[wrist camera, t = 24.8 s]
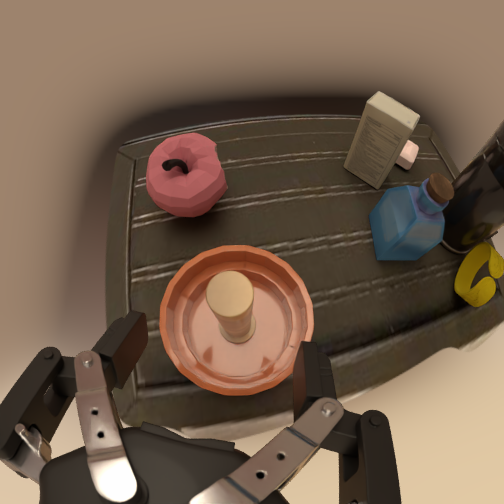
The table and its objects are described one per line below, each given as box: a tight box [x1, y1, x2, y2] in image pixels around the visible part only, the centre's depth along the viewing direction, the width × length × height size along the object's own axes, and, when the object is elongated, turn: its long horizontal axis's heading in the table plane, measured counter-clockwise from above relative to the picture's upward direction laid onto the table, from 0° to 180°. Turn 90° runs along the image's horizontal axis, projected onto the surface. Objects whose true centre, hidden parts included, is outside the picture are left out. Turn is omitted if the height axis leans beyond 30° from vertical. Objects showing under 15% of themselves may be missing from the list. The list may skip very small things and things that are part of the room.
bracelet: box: [454, 242, 504, 307], centre depth 27 cm, size 7×8×3 cm
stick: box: [206, 271, 256, 344], centre depth 21 cm, size 4×4×14 cm
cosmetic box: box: [343, 91, 420, 190], centre depth 31 cm, size 6×4×12 cm
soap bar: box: [395, 140, 419, 170], centre depth 38 cm, size 5×9×2 cm, turn 54°
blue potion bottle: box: [369, 173, 454, 260], centre depth 27 cm, size 6×6×12 cm
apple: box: [146, 133, 228, 217], centre depth 29 cm, size 10×9×10 cm
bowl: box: [159, 245, 314, 395], centre depth 26 cm, size 13×13×6 cm
